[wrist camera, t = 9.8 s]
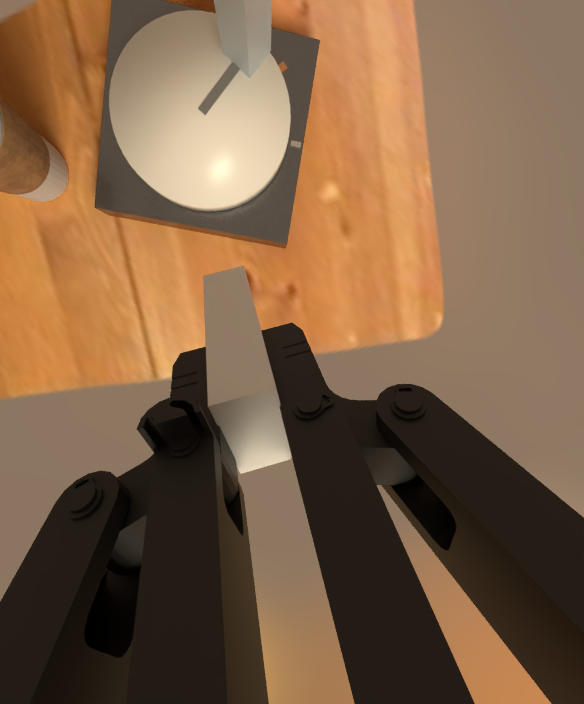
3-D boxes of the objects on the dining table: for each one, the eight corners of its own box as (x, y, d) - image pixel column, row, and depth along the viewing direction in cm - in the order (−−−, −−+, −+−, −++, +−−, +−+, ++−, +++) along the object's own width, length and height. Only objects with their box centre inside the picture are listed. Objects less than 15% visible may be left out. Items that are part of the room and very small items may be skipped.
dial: (221, 245, 34) (190, 209, 20) (83, 131, 32) (-57, 2, 18) (322, 116, 33) (363, -16, 19) (188, -13, 31) (124, -271, 17)
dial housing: (108, 215, 36) (93, 206, 33) (126, 15, 33) (112, -15, 30) (285, 248, 38) (287, 243, 35) (315, 61, 35) (320, 38, 32)
